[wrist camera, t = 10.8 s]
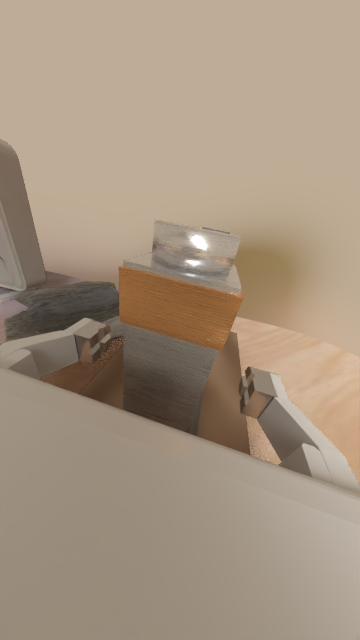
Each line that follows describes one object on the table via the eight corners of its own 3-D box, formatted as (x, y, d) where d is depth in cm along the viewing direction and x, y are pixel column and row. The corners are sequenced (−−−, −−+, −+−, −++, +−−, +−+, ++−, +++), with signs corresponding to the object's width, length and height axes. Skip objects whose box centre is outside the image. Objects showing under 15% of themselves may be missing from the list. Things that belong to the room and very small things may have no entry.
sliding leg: (120, 444, 11) (118, 213, 4) (144, 395, 14) (163, 219, 8) (176, 465, 11) (264, 243, 4) (187, 409, 14) (247, 237, 7)
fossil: (112, 295, 35) (111, 278, 33) (148, 336, 26) (151, 315, 24) (12, 306, 26) (3, 283, 24) (10, 377, 16) (-5, 348, 14)
